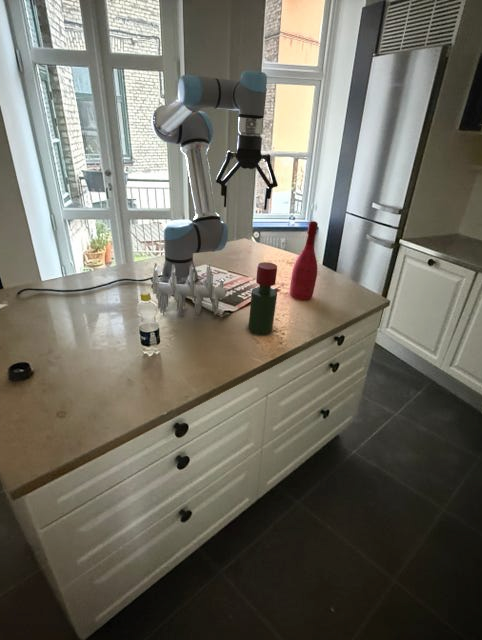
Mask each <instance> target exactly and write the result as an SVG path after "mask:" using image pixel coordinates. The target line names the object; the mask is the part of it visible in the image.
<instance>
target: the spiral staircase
mask: <svg viewBox="0 0 482 640" xmlns="http://www.w3.org/2000/svg"><path fill="white" fill-rule="evenodd" d="M193 269H194V267H193V264H191V266H190V270H189V275H188V280H186V283H185V284H176V276H175V265H173V264H172V273H171V277H170V279H169V283H167V282H159V278H158V276H159V273H158V264H157V262H155V263H154V267H153V275H152V277H153V279H152V294H153V295H155V297H156V299H157V309H158V310H159V313H160V314H162V316H165V313H167V308H169V304H170V299H171V296H173V300H174V301H175V303H176V309H175V310H176V312H178V313H177V314H178V316H181V317H182V316H183V313H184V308H185V307H186V299H187V298H188V297H191V299H193V302H194V308H195V311H196V314H197V317H199V316H200V314H201V310H203V302H204V299H205V298H206V299H209V301H210V303H211V306H212V311H213V315H214V316H213V317H217V315H218V310H219V305H220V300H226V287H224V286H225V285H224V284H225V280H224V279H223V278H220V282H219V284H218V285H217V286H215V285H214V275H213V273H212V272H213V271H212V268H211V265H210V264H209V265H207V266H206V272H205V273H206V274H205V278H204V280H202V281H203V282H202V284H201V285H197V283H196V281H195V272H194V273H193Z"/></svg>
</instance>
